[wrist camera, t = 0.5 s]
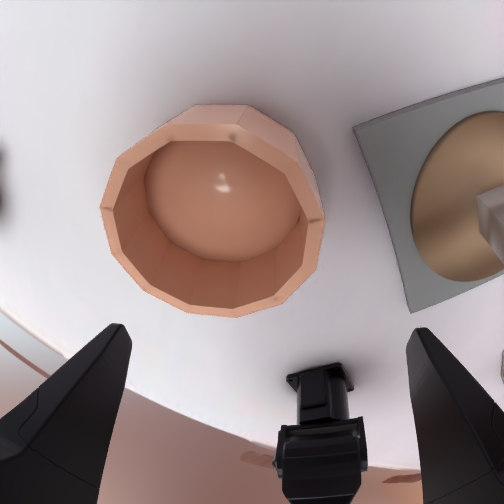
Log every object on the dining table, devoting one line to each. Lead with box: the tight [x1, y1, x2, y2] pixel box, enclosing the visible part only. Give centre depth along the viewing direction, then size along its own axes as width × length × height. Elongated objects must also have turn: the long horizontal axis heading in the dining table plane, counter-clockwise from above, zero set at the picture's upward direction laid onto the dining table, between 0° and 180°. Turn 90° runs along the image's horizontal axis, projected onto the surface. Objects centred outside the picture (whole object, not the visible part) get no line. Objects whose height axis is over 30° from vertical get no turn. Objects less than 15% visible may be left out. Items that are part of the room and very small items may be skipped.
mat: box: [352, 78, 504, 314], centre depth 18 cm, size 17×17×1 cm
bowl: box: [100, 104, 325, 318], centre depth 18 cm, size 12×12×6 cm
